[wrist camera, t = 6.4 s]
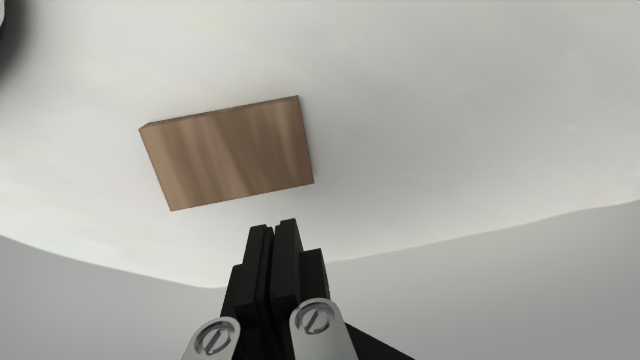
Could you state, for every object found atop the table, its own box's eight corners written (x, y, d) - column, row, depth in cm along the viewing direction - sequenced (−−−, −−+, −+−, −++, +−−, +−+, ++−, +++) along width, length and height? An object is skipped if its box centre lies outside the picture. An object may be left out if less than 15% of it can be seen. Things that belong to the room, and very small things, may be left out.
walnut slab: (298, 99, 25) (138, 129, 24) (314, 183, 27) (170, 211, 27) (297, 94, 27) (150, 121, 26) (311, 172, 30) (179, 198, 29)
